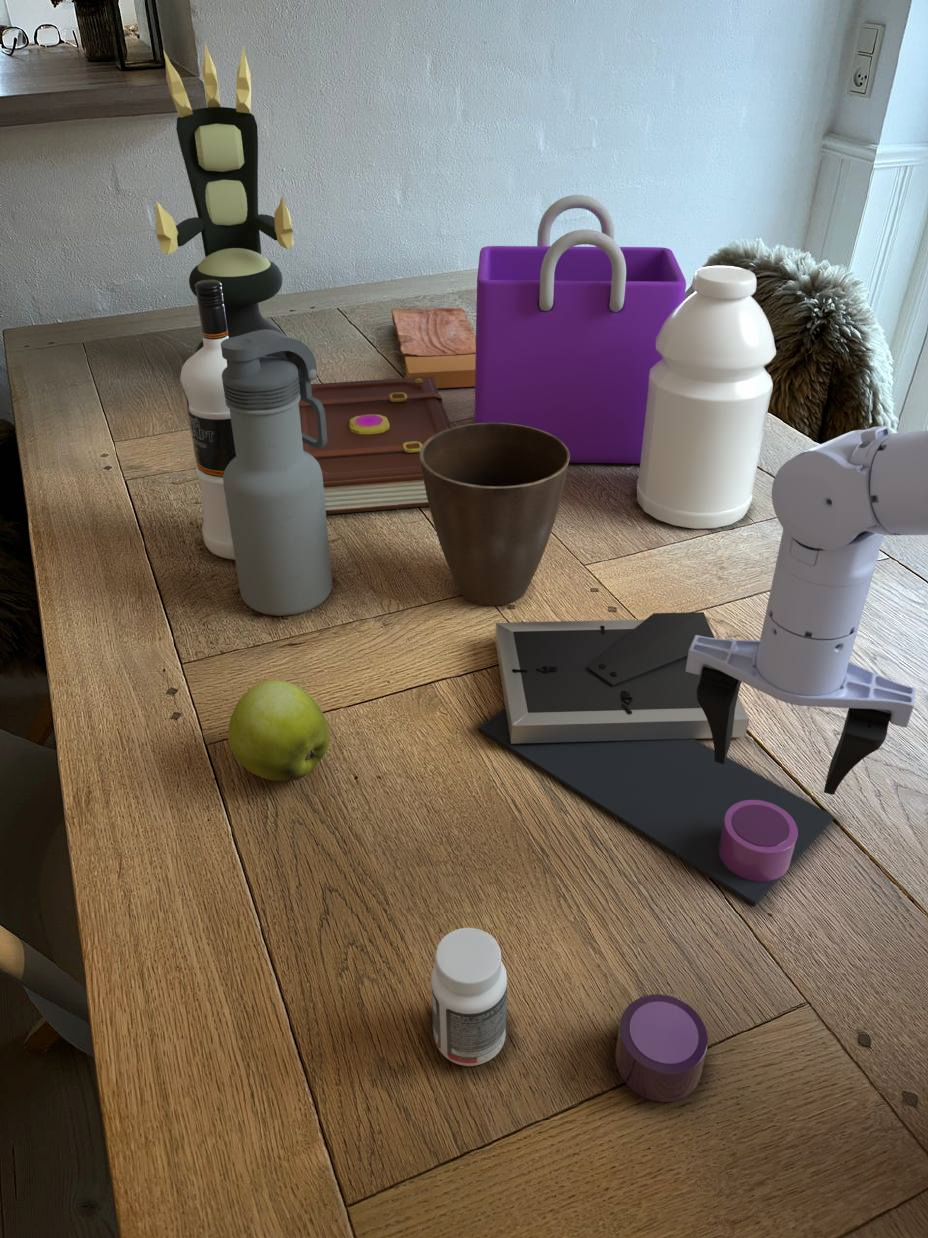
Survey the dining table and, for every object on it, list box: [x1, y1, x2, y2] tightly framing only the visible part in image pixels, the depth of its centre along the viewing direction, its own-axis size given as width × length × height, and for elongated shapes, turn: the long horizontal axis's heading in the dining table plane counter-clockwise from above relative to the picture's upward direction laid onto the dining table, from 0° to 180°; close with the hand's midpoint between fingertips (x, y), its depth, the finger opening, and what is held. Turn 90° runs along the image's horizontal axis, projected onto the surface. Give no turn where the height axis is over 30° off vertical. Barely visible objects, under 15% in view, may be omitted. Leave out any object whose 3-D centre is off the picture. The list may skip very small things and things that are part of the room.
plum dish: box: [718, 800, 798, 882], centre depth 76 cm, size 5×5×3 cm
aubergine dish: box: [614, 993, 709, 1103], centre depth 63 cm, size 5×5×3 cm
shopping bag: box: [473, 194, 687, 465], centre depth 131 cm, size 28×22×30 cm
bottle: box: [636, 265, 777, 529], centre depth 116 cm, size 14×14×28 cm
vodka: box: [179, 280, 236, 561], centre depth 108 cm, size 9×9×30 cm
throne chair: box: [155, 40, 294, 360], centre depth 149 cm, size 19×22×45 cm
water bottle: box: [221, 329, 333, 617], centre depth 100 cm, size 10×10×28 cm
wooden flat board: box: [390, 307, 476, 389], centre depth 165 cm, size 13×30×3 cm, turn 8°
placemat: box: [478, 708, 835, 907], centre depth 85 cm, size 28×12×1 cm, turn 46°
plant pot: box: [420, 423, 570, 607], centre depth 104 cm, size 15×15×16 cm
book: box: [299, 376, 452, 515], centre depth 134 cm, size 23×32×5 cm
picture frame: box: [494, 611, 750, 744], centre depth 93 cm, size 16×3×21 cm
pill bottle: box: [430, 927, 508, 1067], centre depth 63 cm, size 5×5×8 cm
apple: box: [227, 679, 331, 782], centre depth 84 cm, size 8×9×8 cm
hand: (775, 769), depth 72 cm, fingers open, 7 cm apart
